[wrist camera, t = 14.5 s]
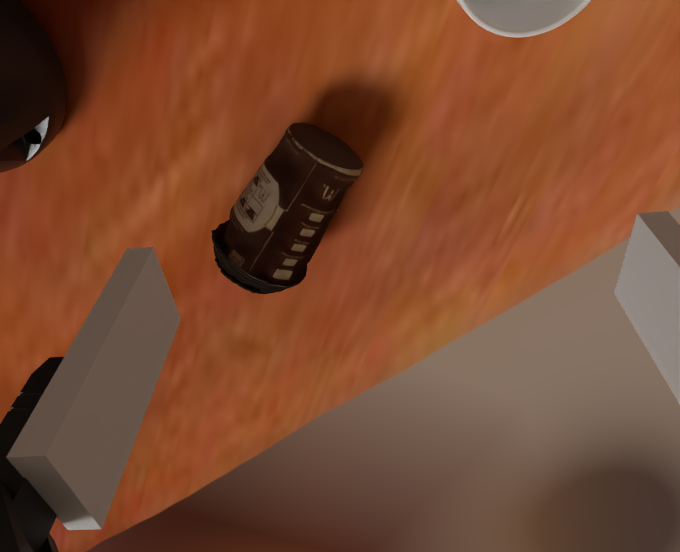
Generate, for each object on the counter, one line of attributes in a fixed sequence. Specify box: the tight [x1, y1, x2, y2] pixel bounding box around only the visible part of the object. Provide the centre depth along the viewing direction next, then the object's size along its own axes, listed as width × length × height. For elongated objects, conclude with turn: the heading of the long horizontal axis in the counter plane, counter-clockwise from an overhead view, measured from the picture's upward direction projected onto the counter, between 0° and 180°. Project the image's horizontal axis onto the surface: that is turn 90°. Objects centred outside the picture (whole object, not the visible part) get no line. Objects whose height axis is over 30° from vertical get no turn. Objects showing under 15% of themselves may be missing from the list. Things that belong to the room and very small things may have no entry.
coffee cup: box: [212, 123, 363, 294], centre depth 43 cm, size 9×8×13 cm
